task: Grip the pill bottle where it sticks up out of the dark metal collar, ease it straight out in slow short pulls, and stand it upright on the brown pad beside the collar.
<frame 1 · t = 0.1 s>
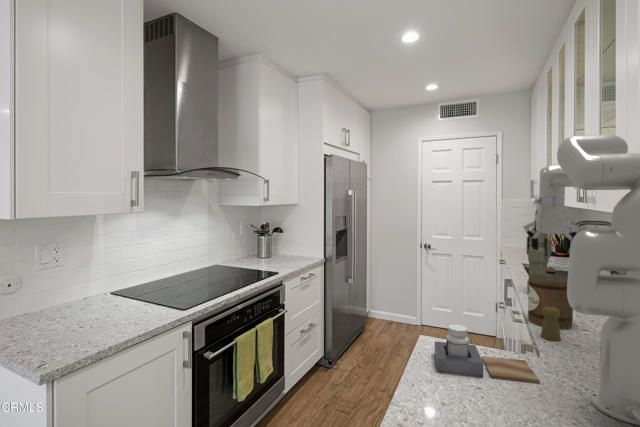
hand: (550, 249, 123), 31 cm above the countertop, tool pointing down, fingers open, 9 cm apart
wooden container: (549, 322, 138), on the countertop
cork: (550, 338, 123), on the countertop
brown pad: (508, 370, 100), on the countertop
pill bottle: (457, 365, 103), resting in metal collar
metal collar: (457, 364, 103), on the countertop
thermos: (537, 295, 177), on the countertop
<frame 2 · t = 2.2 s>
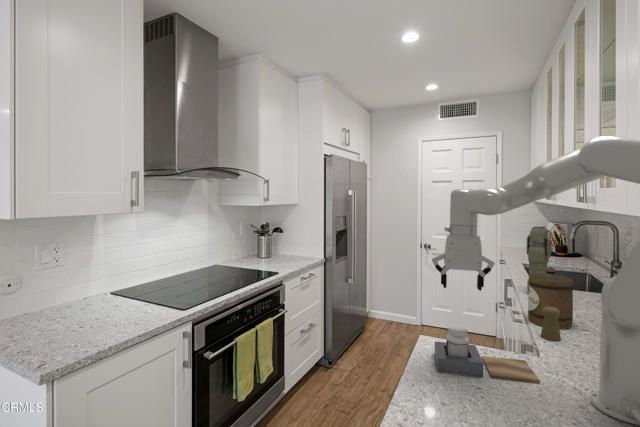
hand: (461, 288, 103), 23 cm above the countertop, tool pointing down, fingers open, 9 cm apart
nothing on the countertop moved.
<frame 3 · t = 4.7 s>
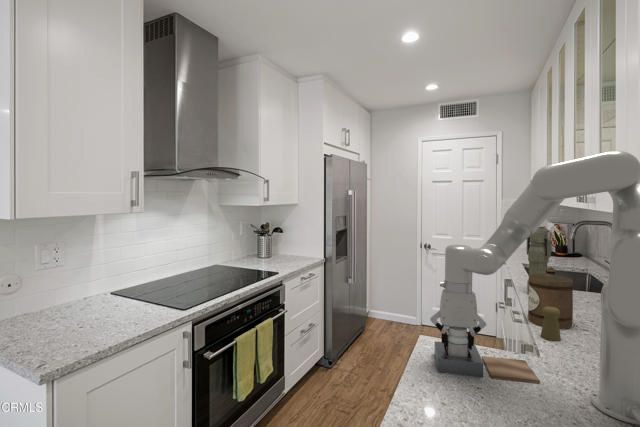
hand: (457, 346, 103), 6 cm above the countertop, tool pointing down, fingers closed on pill bottle, 6 cm apart
pill bottle: (457, 365, 103), resting in metal collar, touching gripper
everything else where it was.
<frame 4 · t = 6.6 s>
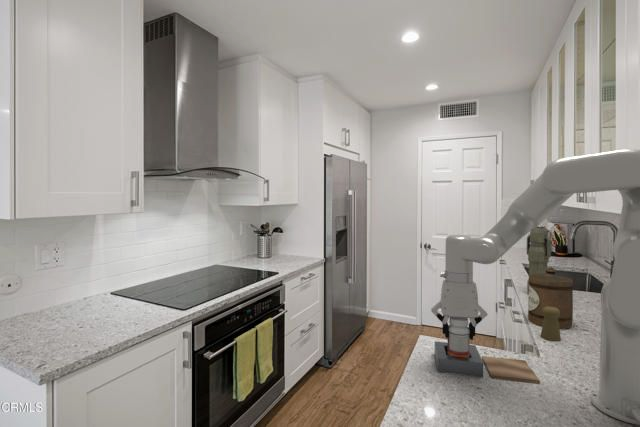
hand: (458, 336, 103), 9 cm above the countertop, tool pointing down, fingers closed on pill bottle, 6 cm apart
pill bottle: (458, 355, 103), point 3 cm above the countertop, touching gripper
everything else where it was.
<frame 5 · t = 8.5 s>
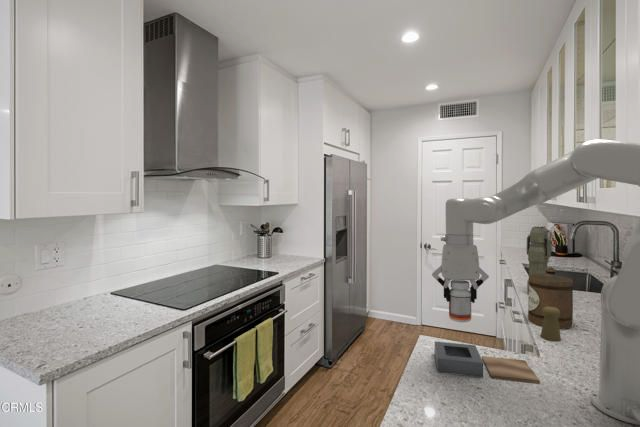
hand: (459, 300, 102), 20 cm above the countertop, tool pointing down, fingers closed on pill bottle, 6 cm apart
pill bottle: (460, 320, 102), point 14 cm above the countertop, touching gripper
everything else where it was.
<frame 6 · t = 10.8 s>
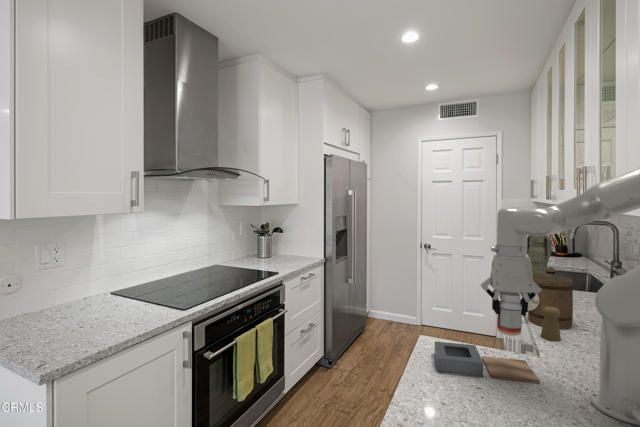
hand: (509, 313, 99), 17 cm above the countertop, tool pointing down, fingers closed on pill bottle, 6 cm apart
pill bottle: (508, 332, 99), point 11 cm above the countertop, touching gripper
everything else where it was.
when the fingers open (7 cm above the countertop, at t = 12.8 s): pill bottle drops 1 cm, resting on brown pad.
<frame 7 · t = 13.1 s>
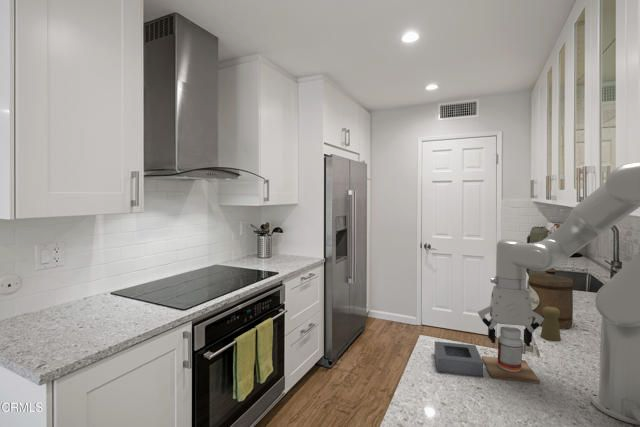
hand: (509, 342, 99), 8 cm above the countertop, tool pointing down, fingers open, 8 cm apart
pill bottle: (509, 368, 100), point 1 cm above the countertop, touching brown pad
everything else where it was.
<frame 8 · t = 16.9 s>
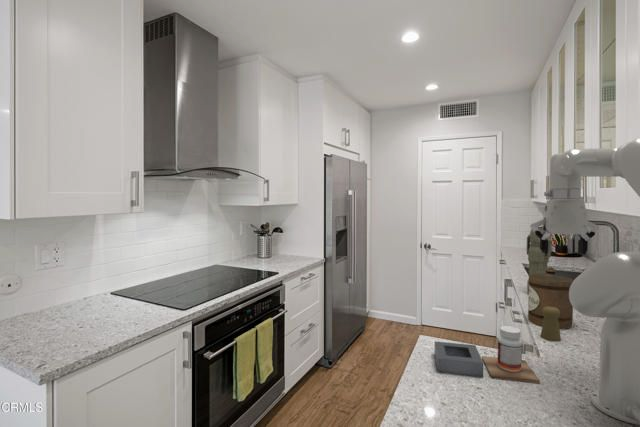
hand: (563, 253, 102), 33 cm above the countertop, tool pointing down, fingers open, 9 cm apart
nothing on the countertop moved.
at the end: pill bottle inside the target area on the brown pad (0.1 cm from its centre), point 0.6 cm above the brown pad's base; pill bottle tilted 0°; pill bottle touching brown pad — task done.
